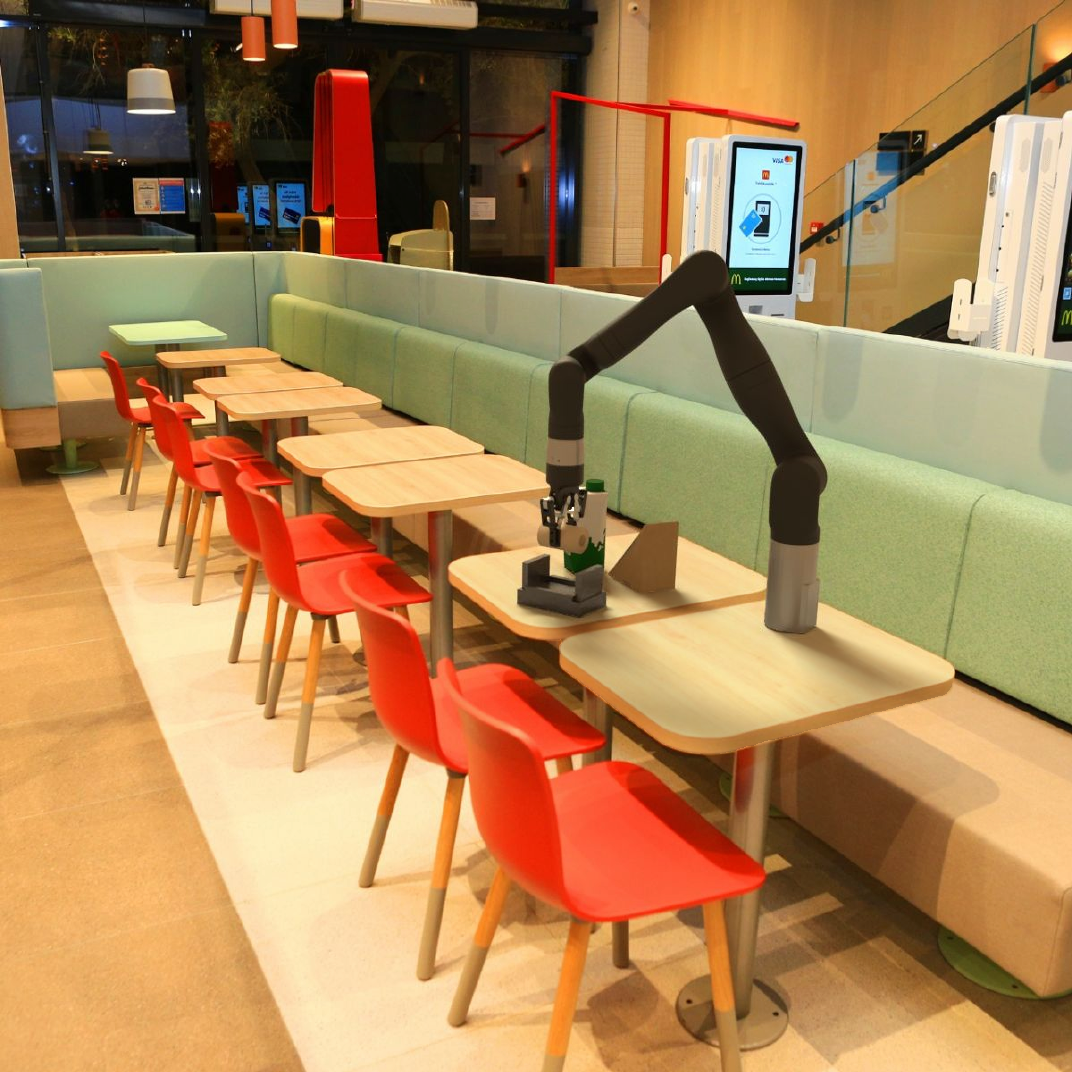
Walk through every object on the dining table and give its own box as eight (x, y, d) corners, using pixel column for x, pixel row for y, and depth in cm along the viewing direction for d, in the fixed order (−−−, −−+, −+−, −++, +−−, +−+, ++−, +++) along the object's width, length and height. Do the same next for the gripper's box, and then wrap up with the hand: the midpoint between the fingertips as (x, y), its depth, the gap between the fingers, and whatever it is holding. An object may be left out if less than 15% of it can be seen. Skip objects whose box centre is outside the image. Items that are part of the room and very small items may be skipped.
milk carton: (609, 572, 254) (612, 484, 248) (570, 575, 251) (573, 486, 246) (595, 561, 262) (598, 476, 256) (558, 564, 259) (560, 478, 254)
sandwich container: (639, 569, 257) (642, 504, 253) (676, 589, 243) (680, 520, 240) (606, 574, 253) (608, 508, 249) (641, 593, 240) (644, 524, 236)
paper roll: (588, 552, 228) (590, 526, 227) (574, 555, 224) (576, 529, 223) (549, 544, 233) (552, 519, 232) (535, 547, 229) (537, 521, 228)
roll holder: (606, 605, 232) (607, 564, 229) (579, 618, 224) (580, 576, 221) (544, 591, 240) (545, 552, 238) (517, 603, 232) (517, 562, 230)
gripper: (560, 468, 216) (558, 554, 221) (600, 457, 228) (597, 539, 232) (528, 463, 220) (526, 548, 225) (569, 452, 232) (567, 533, 236)
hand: (563, 543), depth 229 cm, fingers closed on paper roll, 5 cm apart
